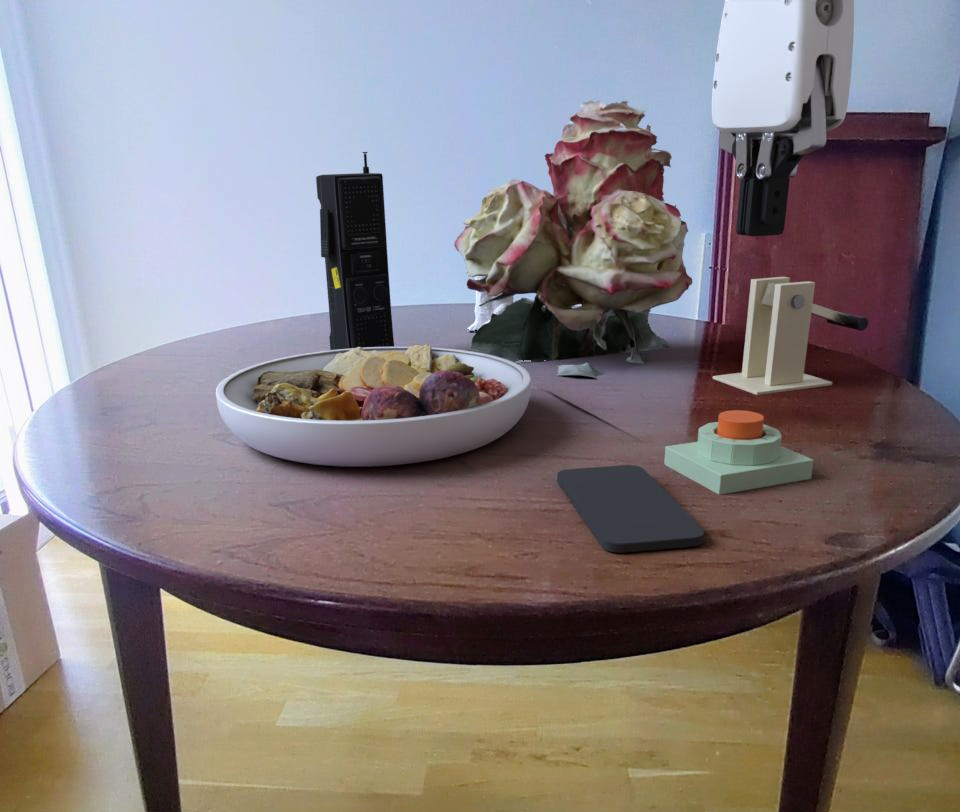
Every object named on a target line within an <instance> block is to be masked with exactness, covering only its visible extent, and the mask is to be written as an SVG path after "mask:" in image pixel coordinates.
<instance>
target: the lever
mask: <svg viewBox="0 0 960 812" xmlns="http://www.w3.org/2000/svg"><path fill="white" fill-rule="evenodd" d="M774 290H775V283H768V286H767V289H766V291H765V294H764V297H763V300H762V302H761V305H764V306H767V307H770V308H773V299H774ZM811 315H814V316H816V317H818V318H819V317H820V318H823V319H825V320H826V322H827V323H828V324H831V325H835V326H839V327H843V328H847V329H851V330H857V331H861V332H863V331H865V330H867V328H868V326H869V320H868V319H869V318H867V317H864V316H859V315H855V314H850V313H846V312H842V311H837V310H833V309H832V308H831V309H830V308H828V307H824V306H822V305H819V304H816V303H813V304H812V312H811Z"/></svg>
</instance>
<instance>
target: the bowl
mask: <svg viewBox="0 0 960 812" xmlns="http://www.w3.org/2000/svg"><path fill="white" fill-rule="evenodd" d="M531 391H532V377H531V374H530V373H529V371H528V370H527V369H525V368H524V367H523V366H522V365H521V364H516V363H514V362H512V361H509V360H506V359H503V358H500V357H496V356H493V355H488V354H483V353H478V352H472V351H470V350H465V349H457V348H444V347H431V346H430V345H429V344H426V343H425V344H424V345H420V344H413V345H410V346H394V347H365V348H362V347H357V348H350V349H338V350H330V349H329V350H321V351H314V352H307V353H300V354H295V355H289V356H283V357H279V358H274V359H270V360H266V361H264V362H259V363H256V364H253V365H251V366H247V367H244V368H242V369H240V370H237V371H235V372H233V373H232V374H230V375H228V376H227V377H225V378H224V379H222V380H221V381H220V382H219V383H218V384H217V386H216V389H215V397H216V398H215V399H216V405H217V409H218V412H219V414H220V417H221V419H222V422H223V423H224V424H225V426H226V427H227V429H228V430H229V431H230V432H231V433H232V434H233V435H234V436H235V437H236V438H237V439H239V441H241V442H243V443H244V444H246V445H247V446H249V447H250V448H252V449H255V450H256V451H259V452H261V453H264V454H266V455H269V456H272V457H275V458H278V459H282V460H287V461H291V462H296V463H302V464H309V465H316V466H328V467H329V466H330V467H347V468H348V467H350V468H354V467H355V468H356V467H357V468H360V467H361V468H363V467H365V468H367V467H368V468H369V467H387V466H398V465H399V466H400V465H410V464H416V463H424V462H430V461H436V460H440V459H445V458H449V457H453V456H457V455H460V454H464V453H467V452H470V451H473V450H476V449H479V448H481V447H484V446H486V445H488V444H490V443H491V442H494V441H496V440H497V439H499V438H501V437H502V436H503V435H505V434H507V433H508V432H509V431H510V430H511V429H512V428H513V427H514V426H515V425H517V423H518V422H519V421H520V420H521V418H522V417H523V415H524V414H525V412H526V410H527V408H528V405H529V401H530V399H531V393H532V392H531Z"/></svg>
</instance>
